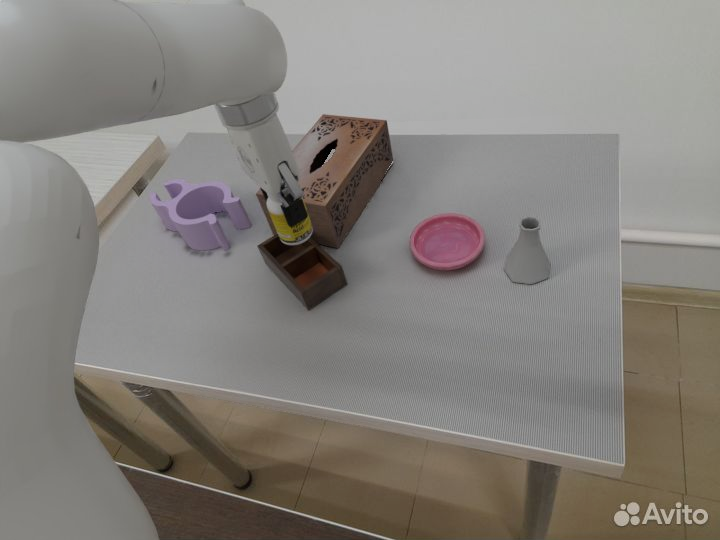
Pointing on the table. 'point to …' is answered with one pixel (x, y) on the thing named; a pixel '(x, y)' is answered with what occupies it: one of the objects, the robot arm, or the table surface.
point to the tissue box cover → (339, 173)
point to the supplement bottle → (285, 232)
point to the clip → (199, 212)
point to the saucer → (447, 241)
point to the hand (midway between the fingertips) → (287, 211)
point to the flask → (528, 254)
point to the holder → (304, 269)
